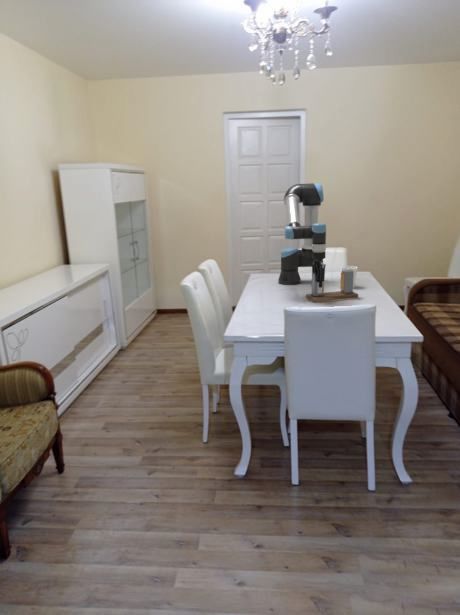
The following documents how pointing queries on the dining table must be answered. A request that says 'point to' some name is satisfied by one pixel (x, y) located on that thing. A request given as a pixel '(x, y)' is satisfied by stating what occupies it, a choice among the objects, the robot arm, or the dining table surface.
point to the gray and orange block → (314, 285)
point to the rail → (331, 296)
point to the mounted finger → (347, 282)
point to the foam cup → (352, 268)
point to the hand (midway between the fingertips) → (317, 291)
